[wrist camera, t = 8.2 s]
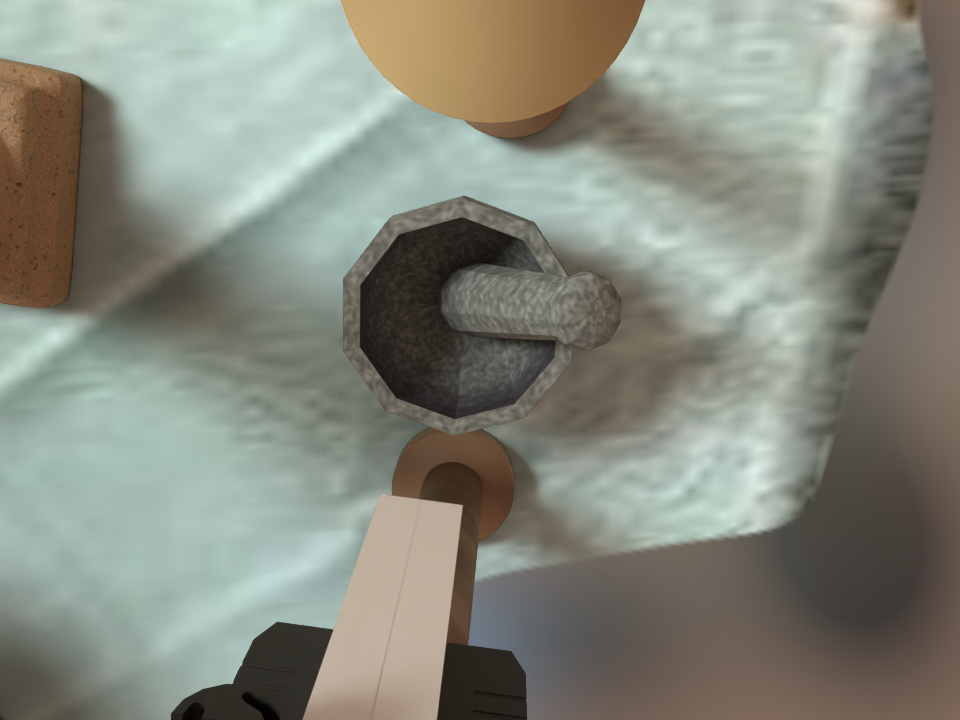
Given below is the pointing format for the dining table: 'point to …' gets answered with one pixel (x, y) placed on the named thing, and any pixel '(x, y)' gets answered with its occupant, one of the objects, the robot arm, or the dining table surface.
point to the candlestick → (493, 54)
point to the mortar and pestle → (468, 315)
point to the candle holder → (38, 182)
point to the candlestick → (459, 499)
